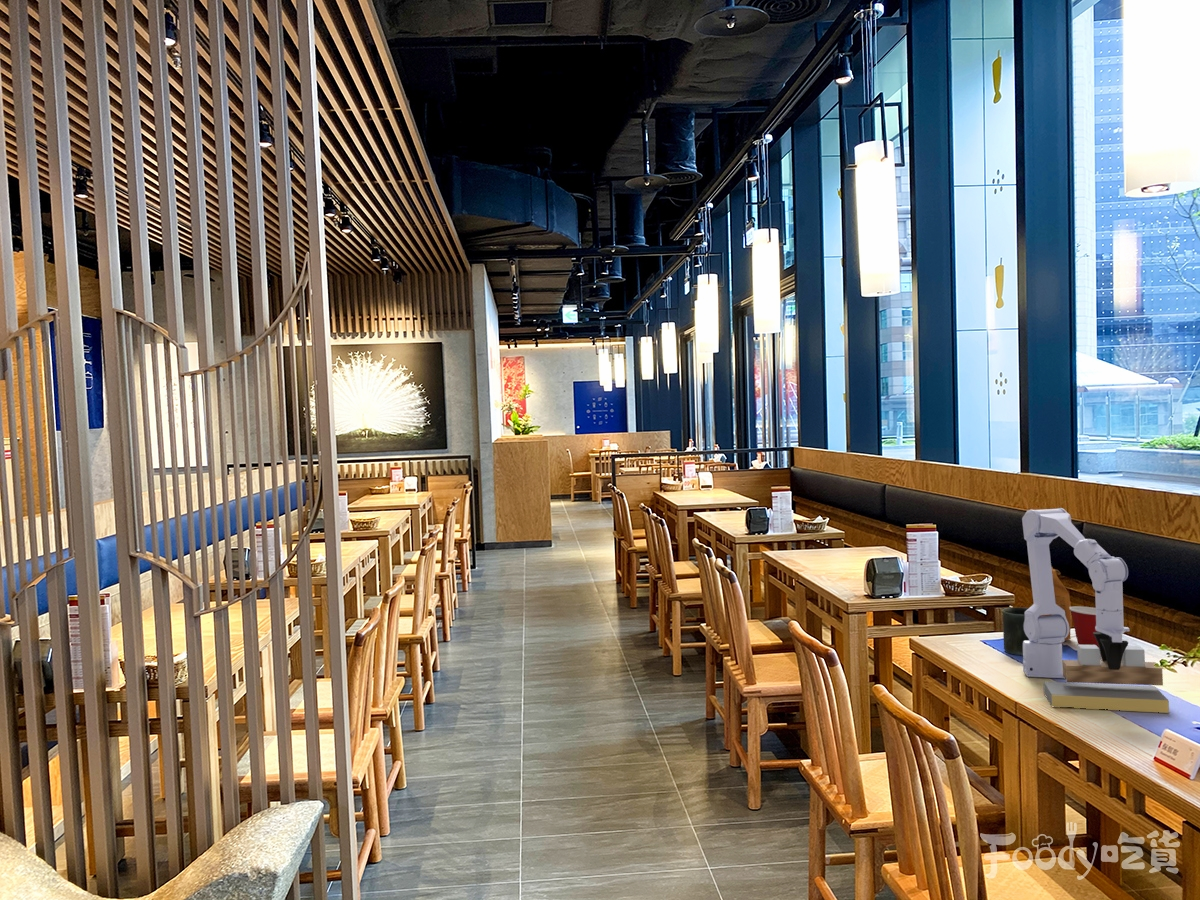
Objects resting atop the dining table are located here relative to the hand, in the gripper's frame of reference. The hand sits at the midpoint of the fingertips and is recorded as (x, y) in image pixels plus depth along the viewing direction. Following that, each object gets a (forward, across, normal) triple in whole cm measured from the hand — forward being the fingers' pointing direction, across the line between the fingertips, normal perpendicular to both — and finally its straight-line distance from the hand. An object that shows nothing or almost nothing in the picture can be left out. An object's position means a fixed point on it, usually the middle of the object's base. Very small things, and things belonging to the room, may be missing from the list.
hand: (1111, 665), depth 215 cm
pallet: (+3, 0, 0) cm, 3 cm away
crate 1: (0, 0, +5) cm, 5 cm away
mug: (+9, +48, +13) cm, 51 cm away
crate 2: (0, 0, -5) cm, 5 cm away
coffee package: (+8, +66, +2) cm, 67 cm away
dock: (+8, -2, +2) cm, 9 cm away
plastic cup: (+9, +52, -6) cm, 53 cm away
